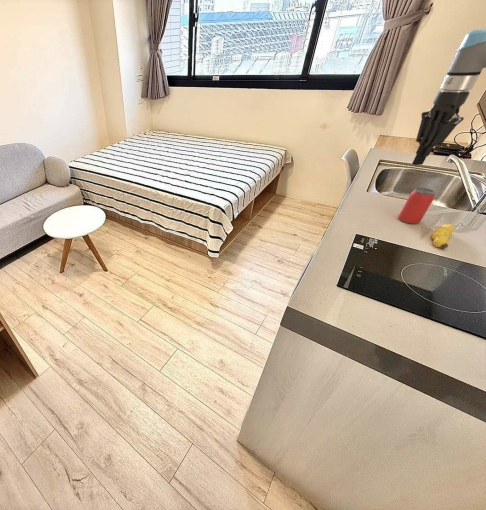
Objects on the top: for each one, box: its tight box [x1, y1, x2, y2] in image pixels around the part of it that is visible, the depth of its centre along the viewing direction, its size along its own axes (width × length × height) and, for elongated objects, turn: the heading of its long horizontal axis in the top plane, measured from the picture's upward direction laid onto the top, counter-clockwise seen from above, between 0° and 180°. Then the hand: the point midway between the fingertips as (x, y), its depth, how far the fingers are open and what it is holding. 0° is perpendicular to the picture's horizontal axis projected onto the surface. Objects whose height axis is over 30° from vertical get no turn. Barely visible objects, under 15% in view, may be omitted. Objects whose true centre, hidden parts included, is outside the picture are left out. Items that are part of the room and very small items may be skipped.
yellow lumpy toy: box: [431, 223, 455, 249], centre depth 94 cm, size 15×5×4 cm, turn 131°
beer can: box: [398, 187, 436, 225], centre depth 102 cm, size 7×7×12 cm
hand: (417, 164), depth 102 cm, fingers closed
